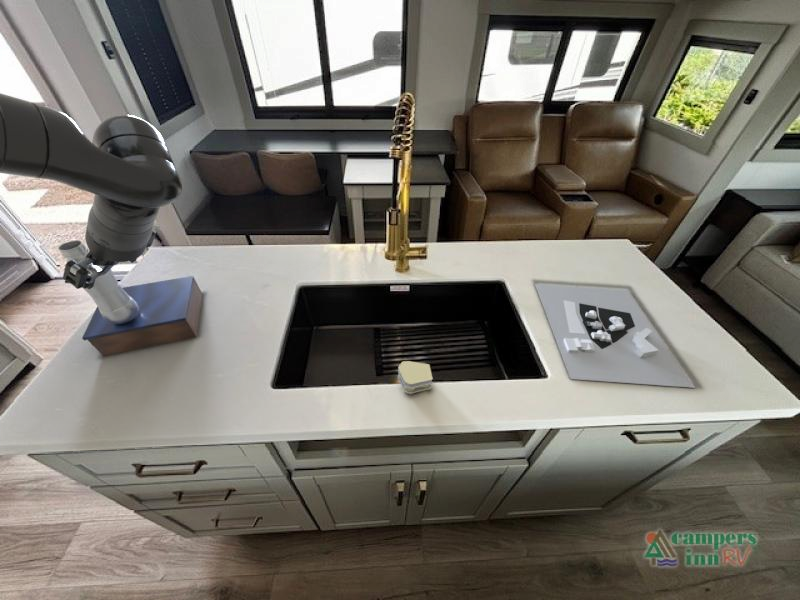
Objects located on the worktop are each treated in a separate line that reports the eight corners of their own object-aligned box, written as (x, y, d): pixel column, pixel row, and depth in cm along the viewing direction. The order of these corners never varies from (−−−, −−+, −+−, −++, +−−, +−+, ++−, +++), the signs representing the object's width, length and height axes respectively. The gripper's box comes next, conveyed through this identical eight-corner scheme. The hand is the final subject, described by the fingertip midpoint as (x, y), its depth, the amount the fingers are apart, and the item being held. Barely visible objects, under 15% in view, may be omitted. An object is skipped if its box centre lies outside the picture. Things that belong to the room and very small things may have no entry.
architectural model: (534, 284, 102) (536, 278, 100) (626, 290, 101) (630, 284, 99) (569, 379, 76) (573, 374, 74) (694, 388, 75) (701, 383, 74)
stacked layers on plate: (431, 367, 77) (433, 353, 74) (439, 401, 71) (442, 387, 67) (389, 371, 76) (389, 356, 73) (393, 405, 70) (394, 392, 66)
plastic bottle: (111, 312, 77) (52, 240, 63) (144, 305, 79) (94, 233, 66) (106, 331, 73) (42, 258, 59) (141, 322, 75) (87, 250, 61)
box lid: (84, 340, 72) (81, 338, 71) (106, 292, 83) (104, 290, 83) (186, 320, 77) (185, 317, 76) (194, 278, 89) (193, 275, 88)
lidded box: (105, 358, 77) (87, 339, 72) (124, 311, 88) (109, 292, 83) (198, 339, 82) (186, 320, 77) (204, 296, 93) (194, 278, 89)
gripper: (139, 191, 54) (124, 237, 64) (46, 232, 44) (46, 279, 54) (178, 225, 57) (158, 264, 67) (98, 271, 47) (89, 309, 57)
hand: (108, 271), depth 61 cm, fingers open, 8 cm apart
